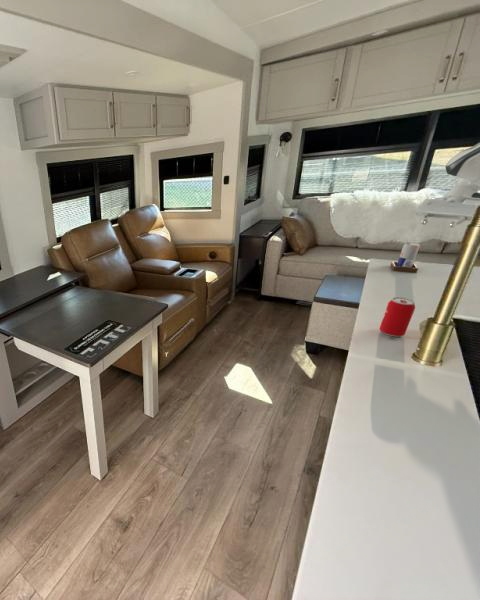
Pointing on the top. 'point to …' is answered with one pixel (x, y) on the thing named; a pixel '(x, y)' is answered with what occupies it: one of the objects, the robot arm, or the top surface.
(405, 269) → the serving tray
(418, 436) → the top surface
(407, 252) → the energy drink
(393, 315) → the beverage can
